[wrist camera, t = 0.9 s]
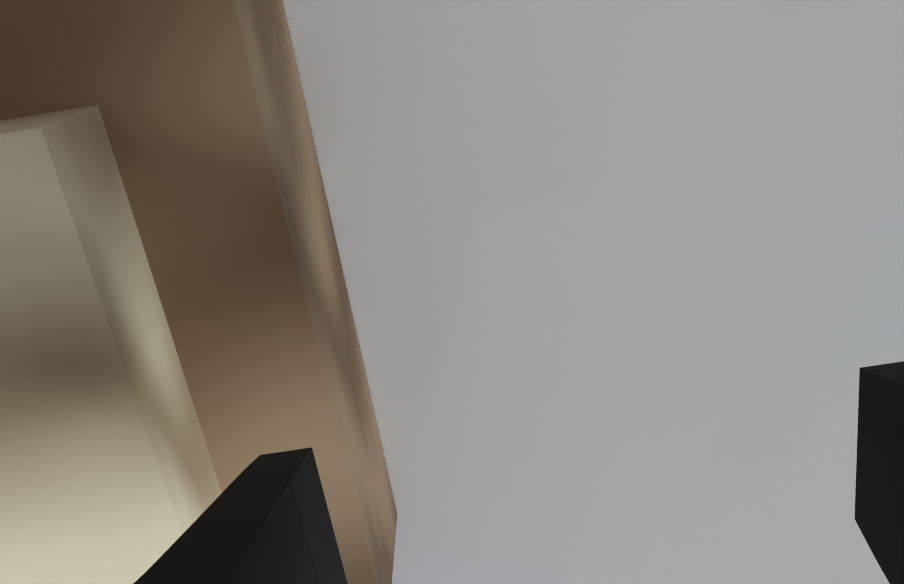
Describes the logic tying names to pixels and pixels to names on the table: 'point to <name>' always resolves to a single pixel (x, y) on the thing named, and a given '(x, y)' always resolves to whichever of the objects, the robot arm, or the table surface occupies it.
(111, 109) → the walnut deck
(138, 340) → the birch tile
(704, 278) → the table surface
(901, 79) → the table surface
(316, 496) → the robot arm
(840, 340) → the table surface
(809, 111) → the table surface
